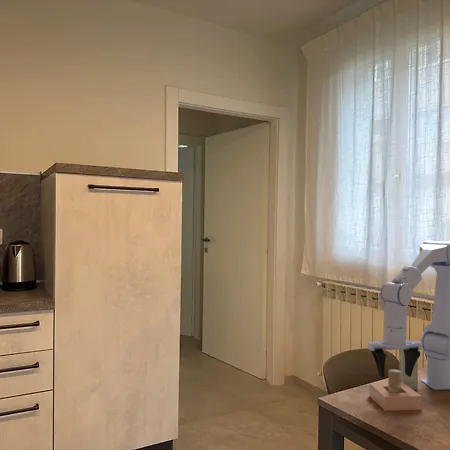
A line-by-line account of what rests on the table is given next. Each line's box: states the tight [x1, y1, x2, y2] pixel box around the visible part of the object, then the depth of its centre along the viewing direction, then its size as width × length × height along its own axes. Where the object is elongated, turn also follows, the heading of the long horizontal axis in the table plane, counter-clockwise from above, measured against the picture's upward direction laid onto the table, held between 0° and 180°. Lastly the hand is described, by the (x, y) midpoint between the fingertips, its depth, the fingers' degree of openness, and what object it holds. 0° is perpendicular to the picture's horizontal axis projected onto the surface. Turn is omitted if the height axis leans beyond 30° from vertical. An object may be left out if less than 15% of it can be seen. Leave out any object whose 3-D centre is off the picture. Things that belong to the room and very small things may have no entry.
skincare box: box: [398, 349, 419, 391], centre depth 136 cm, size 6×4×12 cm
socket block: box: [369, 382, 423, 412], centre depth 123 cm, size 10×10×4 cm
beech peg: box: [387, 369, 401, 393], centre depth 123 cm, size 3×3×8 cm
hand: (394, 375), depth 123 cm, fingers open, 7 cm apart
